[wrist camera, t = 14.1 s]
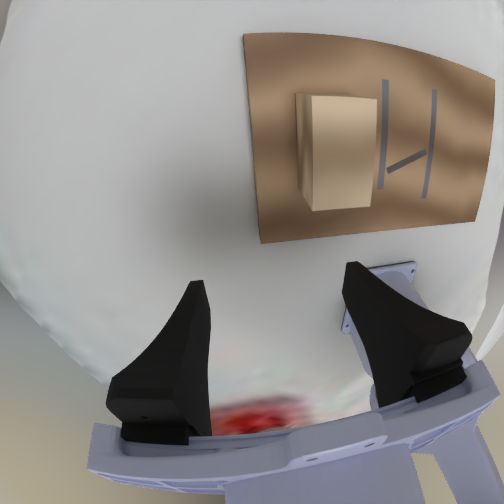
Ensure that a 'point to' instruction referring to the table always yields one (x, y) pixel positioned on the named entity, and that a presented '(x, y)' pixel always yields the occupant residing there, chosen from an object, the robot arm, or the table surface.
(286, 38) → the board
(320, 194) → the block
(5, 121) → the table surface
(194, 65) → the table surface
